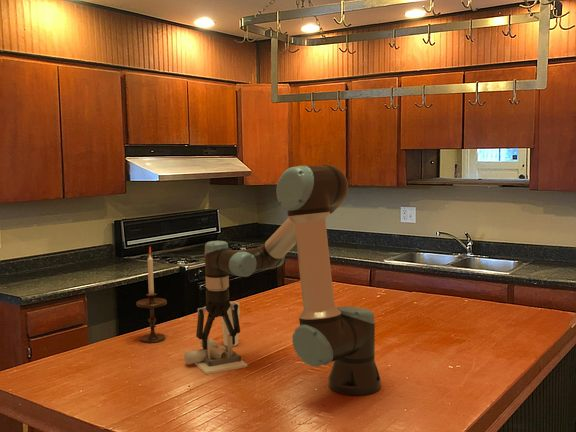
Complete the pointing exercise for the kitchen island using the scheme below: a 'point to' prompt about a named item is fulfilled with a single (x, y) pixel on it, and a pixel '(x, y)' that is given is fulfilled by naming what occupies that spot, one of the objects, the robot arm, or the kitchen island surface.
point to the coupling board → (213, 360)
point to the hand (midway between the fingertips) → (219, 356)
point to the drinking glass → (224, 327)
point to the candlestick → (151, 306)
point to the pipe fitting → (218, 352)
